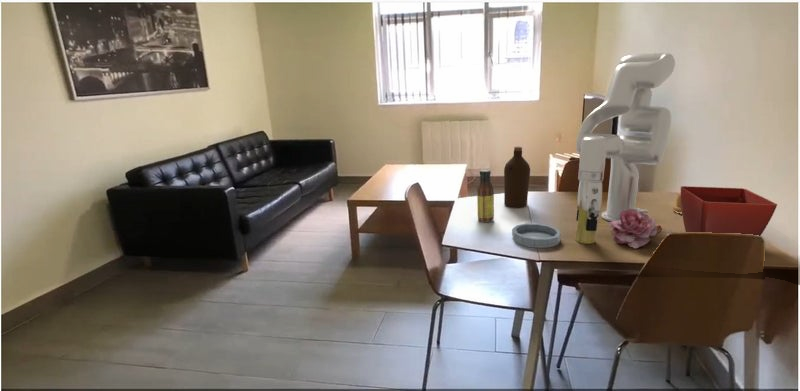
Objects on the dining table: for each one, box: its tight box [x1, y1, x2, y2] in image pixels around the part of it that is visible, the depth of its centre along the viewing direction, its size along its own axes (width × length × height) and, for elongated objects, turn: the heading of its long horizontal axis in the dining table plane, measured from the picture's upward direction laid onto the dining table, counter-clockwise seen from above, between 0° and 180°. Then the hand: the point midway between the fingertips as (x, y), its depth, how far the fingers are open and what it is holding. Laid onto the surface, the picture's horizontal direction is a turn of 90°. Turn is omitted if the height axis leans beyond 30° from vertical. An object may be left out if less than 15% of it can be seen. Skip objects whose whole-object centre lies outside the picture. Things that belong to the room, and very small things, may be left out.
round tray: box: [511, 222, 562, 249], centre depth 149 cm, size 15×15×3 cm
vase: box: [575, 200, 596, 245], centre depth 145 cm, size 6×6×14 cm
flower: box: [608, 209, 663, 249], centre depth 144 cm, size 15×15×10 cm
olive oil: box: [503, 146, 531, 209], centre depth 184 cm, size 11×11×25 cm
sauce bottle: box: [476, 168, 495, 223], centre depth 167 cm, size 7×6×20 cm
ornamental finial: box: [672, 193, 682, 212], centre depth 170 cm, size 8×8×8 cm
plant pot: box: [680, 185, 778, 237], centre depth 138 cm, size 19×19×17 cm
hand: (585, 225), depth 145 cm, fingers open, 9 cm apart
